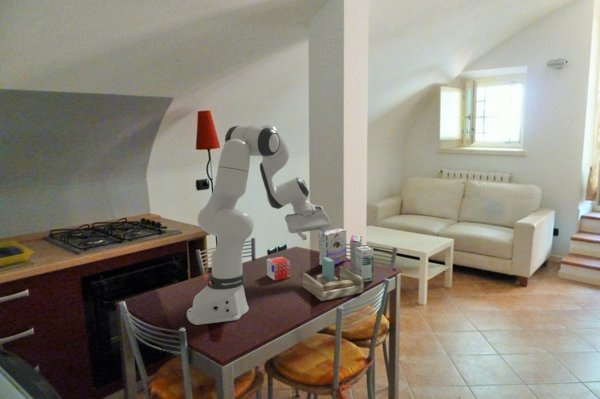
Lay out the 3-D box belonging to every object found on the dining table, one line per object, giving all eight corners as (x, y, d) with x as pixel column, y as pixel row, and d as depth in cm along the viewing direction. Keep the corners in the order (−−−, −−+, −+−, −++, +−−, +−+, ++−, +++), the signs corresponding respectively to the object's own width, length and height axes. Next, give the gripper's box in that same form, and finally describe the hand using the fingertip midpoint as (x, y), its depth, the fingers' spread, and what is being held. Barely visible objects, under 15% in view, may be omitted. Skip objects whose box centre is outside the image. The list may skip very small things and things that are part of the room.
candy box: (338, 258, 216) (338, 227, 214) (346, 261, 212) (346, 229, 209) (318, 264, 208) (318, 232, 205) (326, 267, 203) (326, 234, 200)
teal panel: (329, 289, 175) (328, 261, 173) (322, 284, 181) (322, 257, 179) (334, 288, 176) (334, 260, 174) (327, 283, 182) (327, 257, 180)
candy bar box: (351, 268, 201) (351, 234, 199) (362, 268, 200) (362, 235, 198) (349, 276, 191) (349, 240, 188) (361, 276, 190) (361, 241, 187)
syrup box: (361, 282, 182) (361, 250, 180) (355, 278, 188) (355, 246, 185) (373, 280, 184) (373, 248, 182) (367, 276, 189) (367, 245, 187)
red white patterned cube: (290, 277, 191) (289, 260, 190) (274, 280, 187) (273, 263, 186) (282, 272, 198) (282, 256, 197) (267, 275, 194) (266, 259, 193)
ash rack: (321, 300, 164) (321, 286, 163) (302, 286, 179) (302, 273, 178) (363, 292, 171) (363, 278, 170) (342, 279, 187) (342, 266, 186)
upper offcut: (325, 291, 168) (325, 286, 167) (322, 288, 171) (322, 282, 171) (353, 288, 171) (353, 282, 170) (350, 285, 174) (350, 279, 174)
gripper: (285, 210, 187) (294, 237, 180) (326, 206, 196) (336, 231, 189) (281, 218, 192) (290, 244, 185) (321, 214, 201) (331, 238, 193)
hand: (314, 238), depth 187 cm, fingers open, 8 cm apart
